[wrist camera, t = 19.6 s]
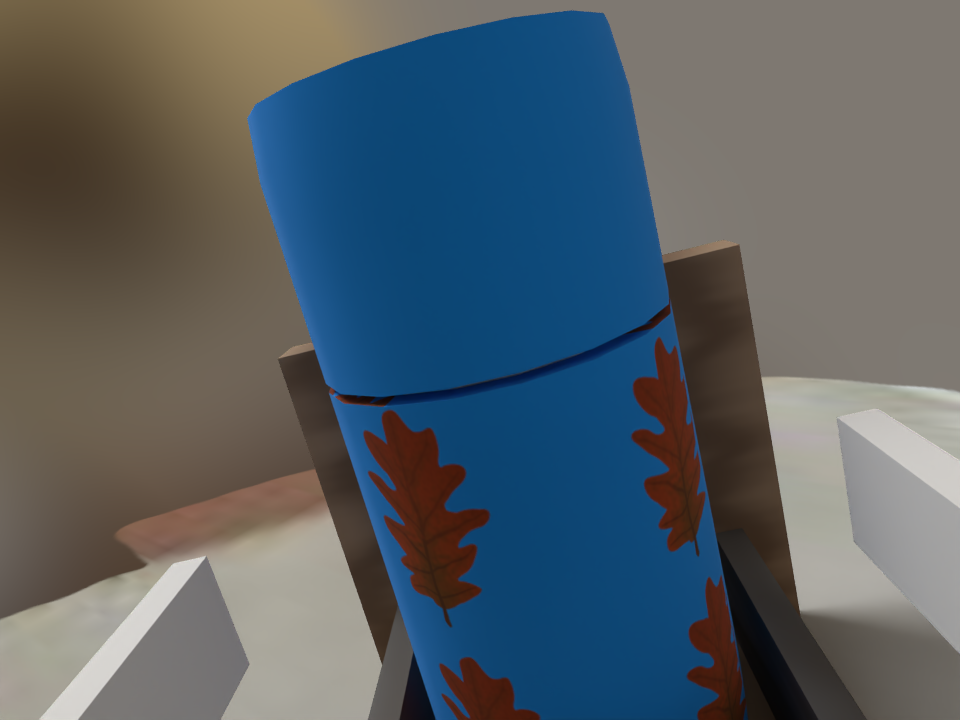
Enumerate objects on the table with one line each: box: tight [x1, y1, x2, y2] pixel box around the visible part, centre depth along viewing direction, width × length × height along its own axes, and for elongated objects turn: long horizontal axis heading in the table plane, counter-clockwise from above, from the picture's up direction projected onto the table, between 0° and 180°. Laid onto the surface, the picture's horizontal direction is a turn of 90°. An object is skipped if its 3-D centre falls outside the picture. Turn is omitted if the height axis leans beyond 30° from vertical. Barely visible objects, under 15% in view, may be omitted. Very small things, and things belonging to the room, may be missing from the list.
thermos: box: [247, 11, 748, 720], centre depth 23 cm, size 11×11×25 cm
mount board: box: [278, 240, 867, 720], centre depth 24 cm, size 19×17×18 cm
